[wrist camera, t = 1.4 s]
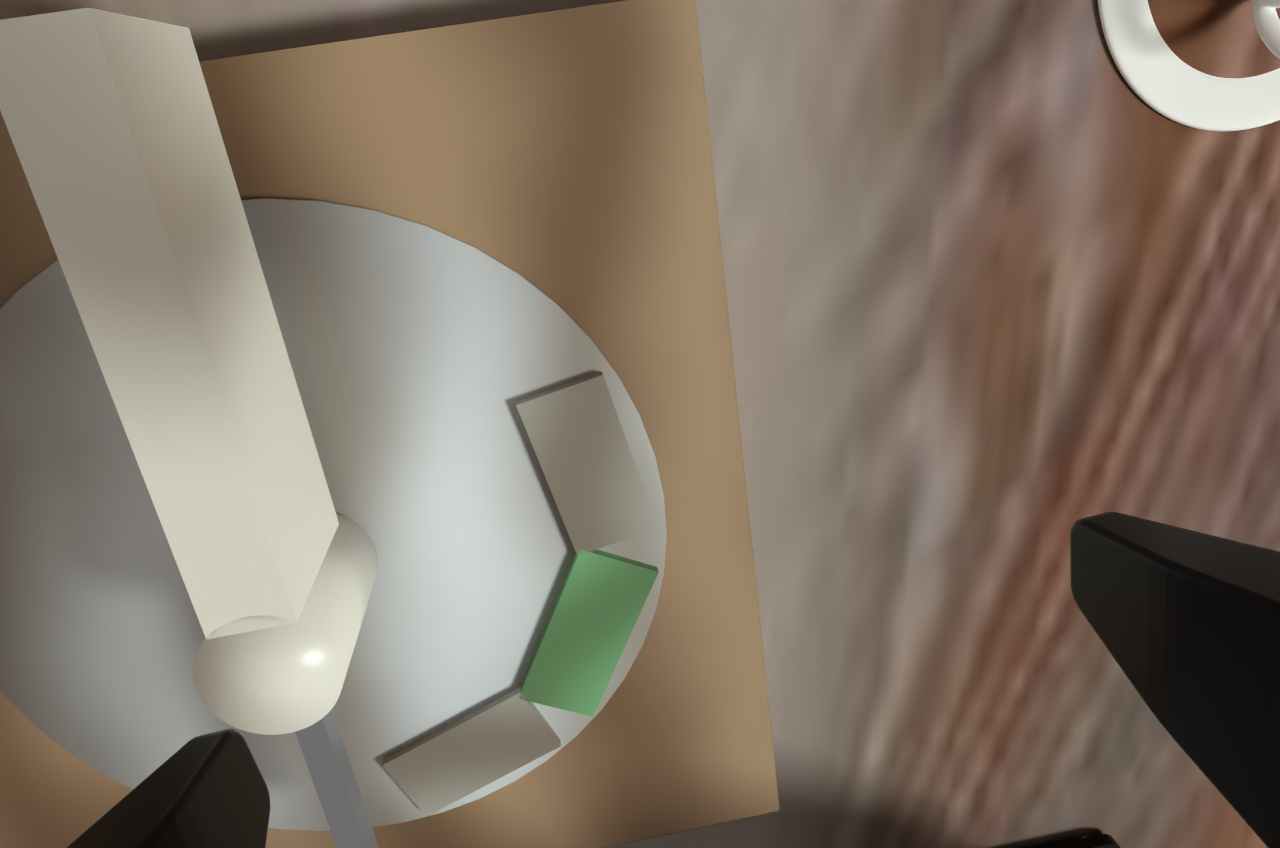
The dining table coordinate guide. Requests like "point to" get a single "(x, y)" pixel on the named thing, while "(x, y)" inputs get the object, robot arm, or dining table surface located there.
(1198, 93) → the teacup and saucer
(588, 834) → the tuner board
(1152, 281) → the dining table surface
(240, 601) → the dial pointer lever
